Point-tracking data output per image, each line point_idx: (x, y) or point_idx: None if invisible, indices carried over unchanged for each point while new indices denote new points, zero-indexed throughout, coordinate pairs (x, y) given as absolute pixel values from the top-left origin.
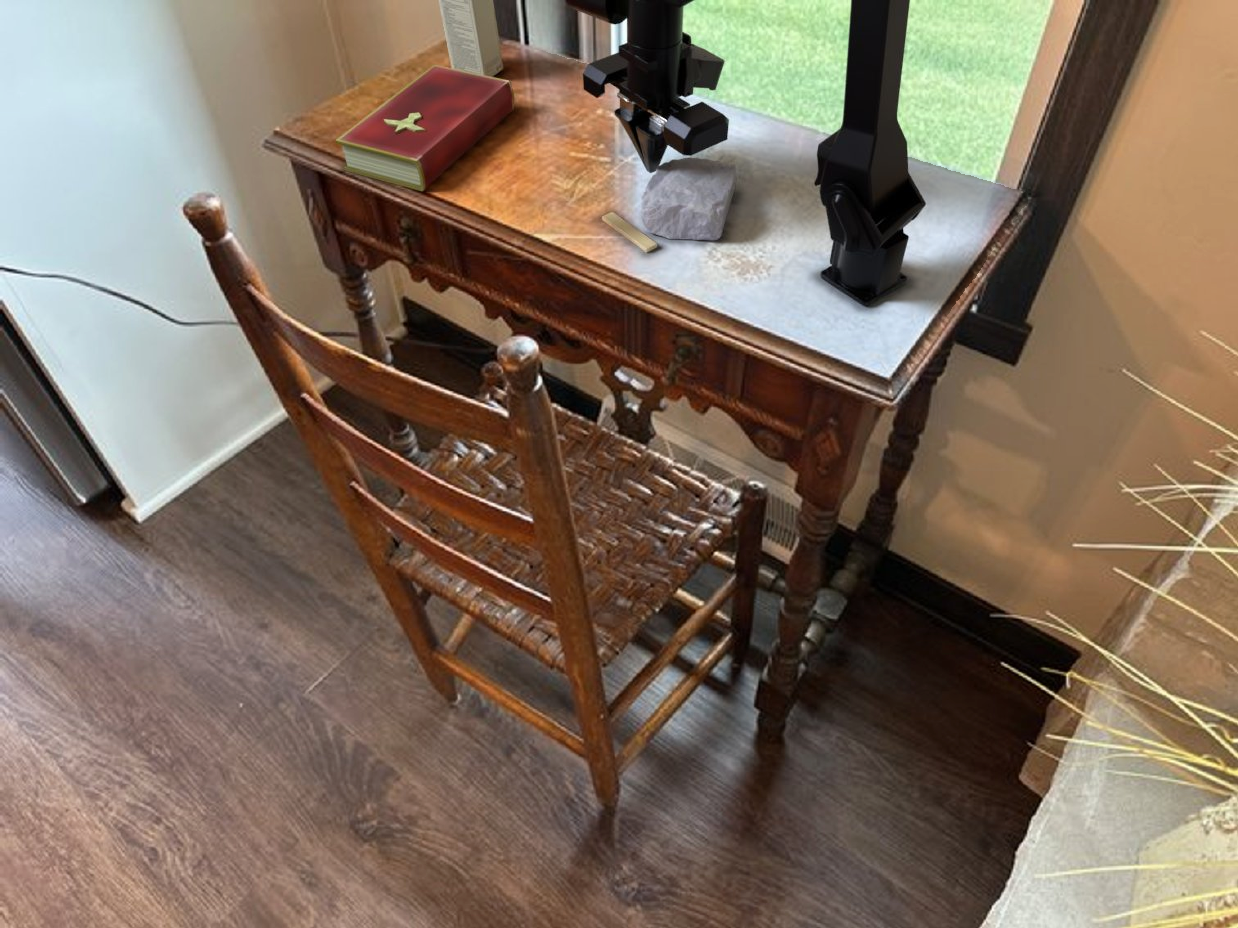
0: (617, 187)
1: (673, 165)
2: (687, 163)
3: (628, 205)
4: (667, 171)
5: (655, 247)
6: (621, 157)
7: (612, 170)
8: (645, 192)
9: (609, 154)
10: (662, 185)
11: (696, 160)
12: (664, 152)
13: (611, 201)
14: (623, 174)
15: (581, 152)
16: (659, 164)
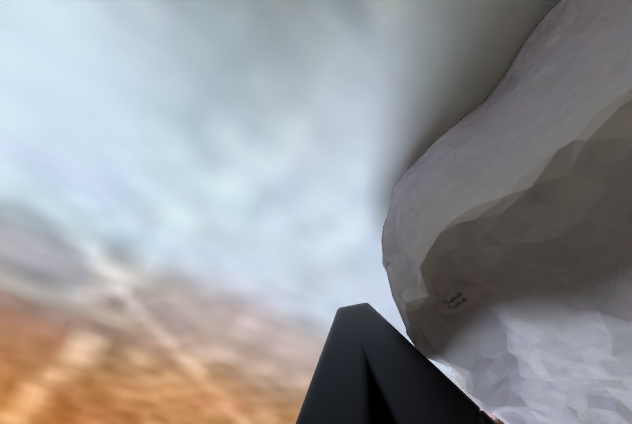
0: (296, 378)
1: (478, 286)
2: (595, 248)
3: None
4: (482, 320)
5: None
6: (85, 293)
7: (176, 354)
8: (508, 417)
9: (45, 323)
10: (559, 379)
11: (625, 173)
12: (440, 373)
13: None
14: (221, 333)
15: (4, 395)
16: (384, 319)
